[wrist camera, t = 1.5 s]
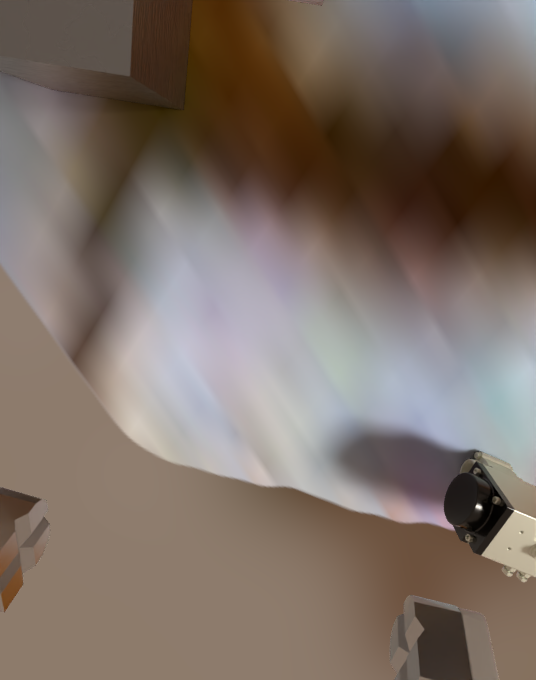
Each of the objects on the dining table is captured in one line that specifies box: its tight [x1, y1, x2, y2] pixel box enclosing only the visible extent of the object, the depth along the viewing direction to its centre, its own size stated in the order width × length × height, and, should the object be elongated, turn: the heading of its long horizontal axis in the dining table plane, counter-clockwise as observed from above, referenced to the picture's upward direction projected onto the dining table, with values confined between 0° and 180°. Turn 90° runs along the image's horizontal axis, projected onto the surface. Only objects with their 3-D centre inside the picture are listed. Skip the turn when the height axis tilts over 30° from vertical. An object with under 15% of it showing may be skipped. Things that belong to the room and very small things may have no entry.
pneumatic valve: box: [444, 451, 536, 582], centre depth 43 cm, size 6×12×12 cm, turn 65°
